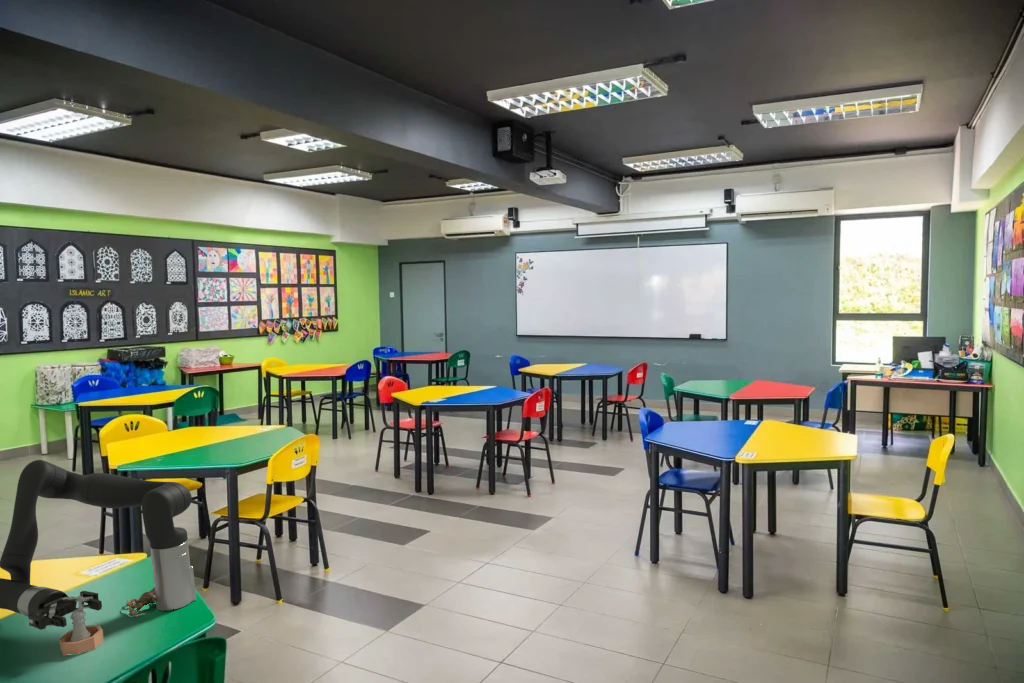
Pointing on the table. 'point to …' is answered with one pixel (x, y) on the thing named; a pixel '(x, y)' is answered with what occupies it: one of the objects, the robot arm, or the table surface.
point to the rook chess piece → (79, 626)
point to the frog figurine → (141, 602)
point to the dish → (82, 645)
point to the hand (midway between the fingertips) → (83, 614)
